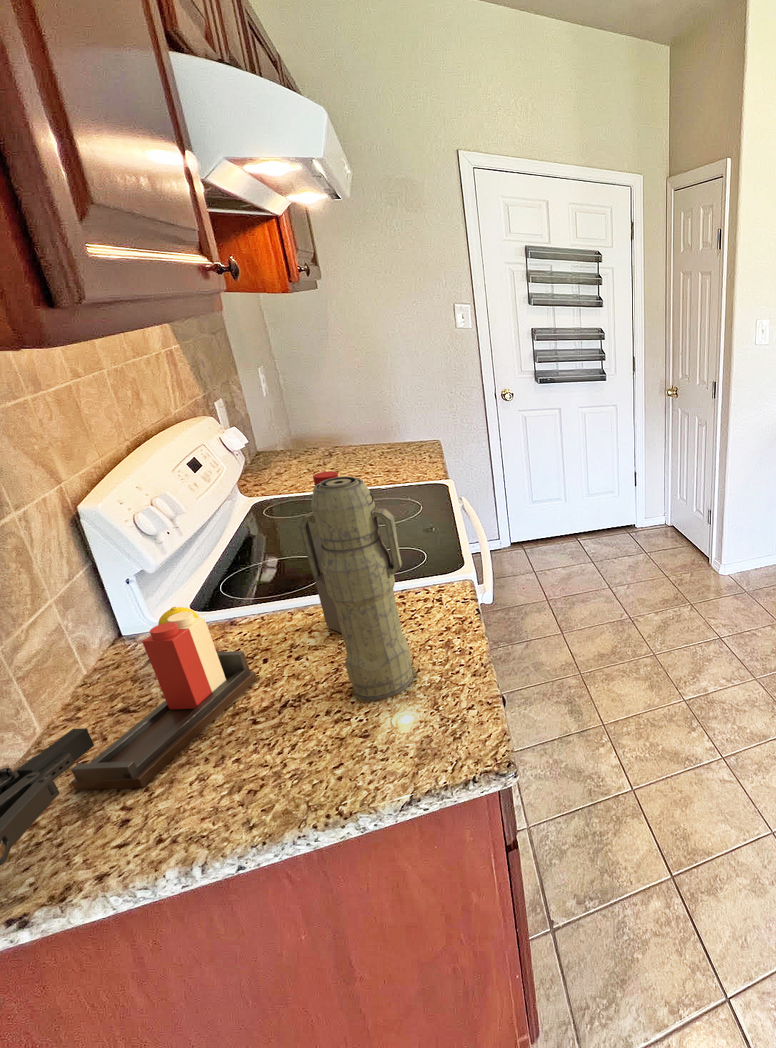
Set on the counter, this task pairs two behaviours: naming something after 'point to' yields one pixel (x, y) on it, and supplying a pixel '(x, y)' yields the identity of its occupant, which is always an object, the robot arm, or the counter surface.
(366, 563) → the thermos
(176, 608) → the lemon
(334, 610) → the liquor
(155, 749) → the rail
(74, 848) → the counter surface
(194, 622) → the marker cream
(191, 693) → the marker red
